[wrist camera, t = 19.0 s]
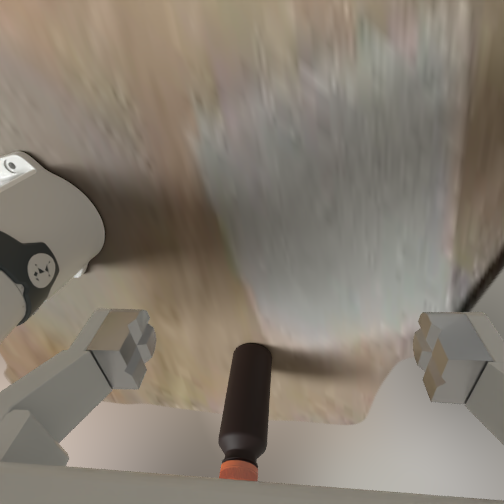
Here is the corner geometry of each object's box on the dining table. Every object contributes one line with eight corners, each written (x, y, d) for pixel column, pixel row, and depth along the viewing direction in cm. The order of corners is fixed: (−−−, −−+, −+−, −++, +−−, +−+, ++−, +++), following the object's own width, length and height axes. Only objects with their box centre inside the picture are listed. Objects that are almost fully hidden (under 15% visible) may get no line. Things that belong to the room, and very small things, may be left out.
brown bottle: (279, 358, 57) (275, 493, 41) (250, 371, 60) (234, 500, 44) (255, 337, 54) (240, 471, 38) (225, 351, 57) (199, 481, 41)
